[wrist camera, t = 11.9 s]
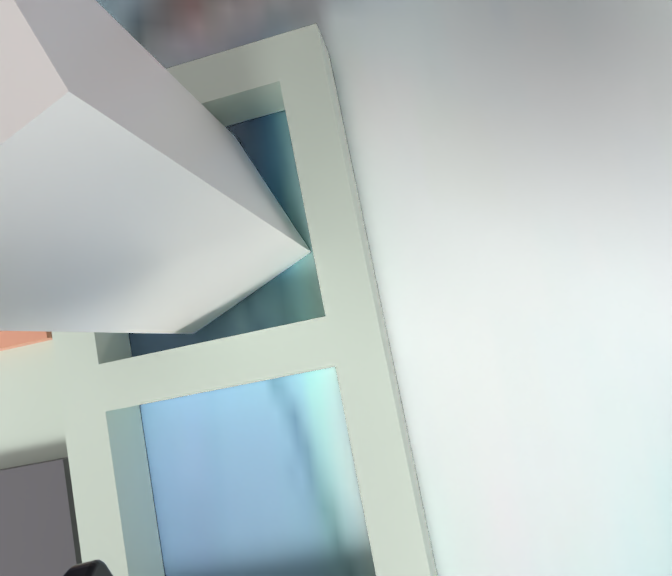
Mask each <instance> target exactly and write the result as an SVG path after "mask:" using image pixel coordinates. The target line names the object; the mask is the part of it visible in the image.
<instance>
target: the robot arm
mask: <svg viewBox="0 0 672 576" xmlns="http://www.w3.org/2000/svg"><path fill="white" fill-rule="evenodd" d="M63 576H113V575H112V573H111V572H110V570H109V569H108V567H107V565H106V564H105V563H104V562H103V561H101V560H92V561H88V562H84V563H80V564H76V565H74V566H72V567H71V568H69V569H68V570H67V571H66V573H65V574H64V575H63Z"/></svg>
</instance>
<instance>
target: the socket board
mask: <svg viewBox="0 0 672 576" xmlns="http://www.w3.org/2000/svg"><path fill="white" fill-rule="evenodd" d="M166 70H167V71H168V72H169V73H170V74H171V75H172V76H173V77H174V78H175V79H176V80H177V81H178V82H179V83H180V84H182V85H183V86H184V87H185V88H186V89H187V90H188V91H189V92H190V93H191V94H192V95H193V96H194V97H195V98H196V99H197V100H198V101H199V102H200V103H201V104H202V105H203V106H204V107H205V108H206V109H207V110H208V111H209V112H210V113H211V114H212V115H213V116H214V117H215V118H216V119H217V120H218V121H219V122H220V123H221V124H222V125H223V126H224V127H226V126H229V125H233V124H237V123H240V122H244V121H247V120H251V119H254V118H258V117H262V116H265V115H269V114H272V113H276V112H280V111H283V110H285V111H286V116H287V122H288V127H289V132H290V137H291V142H292V147H293V152H294V157H295V163H296V168H297V173H298V178H299V183H300V188H301V193H302V198H303V204H304V209H305V214H306V219H307V224H308V229H309V234H310V239H311V245H312V250H313V255H314V260H315V265H316V270H317V275H318V281H319V286H320V291H321V296H322V301H323V306H324V311H325V316H324V317H319V318H314V319H310V320H305V321H300V322H296V323H291V324H286V325H281V326H277V327H272V328H267V329H263V330H258V331H253V332H248V333H244V334H239V335H234V336H230V337H225V338H220V339H215V340H211V341H206V342H201V343H197V344H192V345H187V346H183V347H178V348H173V349H168V350H164V351H159V352H154V353H150V354H145V355H140V356H135V357H132V353H131V346H130V340H129V333H104V332H47V331H0V576H63V575H64V574H65V573H66V571H67V570H68V569H69V568H71V567H72V566H74V565H76V564H80V563H84V562H88V561H92V560H101V561H103V562H104V563H105V564H106V565H107V567H108V569H109V570H110V572H111V573H112V575H113V576H165V573H164V567H163V560H162V553H161V547H160V540H159V533H158V527H157V520H156V513H155V506H154V500H153V493H152V486H151V480H150V473H149V466H148V460H147V453H146V446H145V440H144V433H143V426H142V420H141V413H140V406H139V405H141V404H147V403H152V402H157V401H162V400H167V399H172V398H177V397H182V396H187V395H192V394H197V393H202V392H208V391H213V390H218V389H223V388H228V387H233V386H238V385H243V384H248V383H253V382H258V381H264V380H269V379H274V378H279V377H284V376H289V375H294V374H299V373H304V372H309V371H314V370H320V369H325V368H330V367H335V368H336V373H337V378H338V383H339V388H340V393H341V398H342V404H343V409H344V414H345V419H346V424H347V429H348V434H349V439H350V445H351V450H352V455H353V460H354V465H355V470H356V475H357V480H358V486H359V491H360V496H361V501H362V506H363V511H364V516H365V521H366V527H367V532H368V537H369V542H370V547H371V552H372V557H373V562H374V568H375V573H376V576H438V575H437V570H436V566H435V561H434V556H433V551H432V546H431V542H430V537H429V532H428V527H427V522H426V518H425V513H424V508H423V503H422V498H421V494H420V489H419V484H418V479H417V474H416V470H415V465H414V460H413V455H412V450H411V446H410V441H409V436H408V431H407V426H406V422H405V417H404V412H403V407H402V402H401V398H400V393H399V388H398V383H397V378H396V374H395V369H394V364H393V359H392V354H391V350H390V345H389V340H388V335H387V330H386V326H385V321H384V316H383V311H382V306H381V302H380V297H379V292H378V287H377V282H376V278H375V273H374V268H373V263H372V258H371V254H370V249H369V244H368V239H367V234H366V230H365V225H364V220H363V215H362V210H361V206H360V201H359V196H358V191H357V186H356V182H355V177H354V172H353V167H352V162H351V158H350V153H349V148H348V143H347V138H346V134H345V129H344V124H343V119H342V114H341V110H340V105H339V100H338V95H337V90H336V86H335V81H334V76H333V71H332V66H331V62H330V57H329V53H328V51H327V48H326V46H325V43H324V41H323V38H322V36H321V33H320V31H319V28H318V26H317V23H315V24H312V25H309V26H305V27H302V28H299V29H295V30H292V31H289V32H285V33H282V34H279V35H275V36H272V37H269V38H266V39H262V40H259V41H256V42H252V43H249V44H246V45H242V46H239V47H236V48H233V49H229V50H226V51H223V52H219V53H216V54H213V55H209V56H206V57H203V58H200V59H196V60H193V61H190V62H186V63H183V64H180V65H176V66H173V67H170V68H166Z"/></svg>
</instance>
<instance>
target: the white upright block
mask: <svg viewBox="0 0 672 576" xmlns="http://www.w3.org/2000/svg"><path fill="white" fill-rule="evenodd" d="M309 253H311V251H310V250H309V248H308V247H307V245H306V243H305V242H304V240H303V239H302V237H301V236H300V234H299V233H298V231H297V230H296V228H295V227H294V225H293V224H292V222H291V221H290V219H289V218H288V216H287V215H286V213H285V212H284V210H283V209H282V207H281V205H280V204H279V202H278V201H277V199H276V198H275V196H274V195H273V193H272V192H271V190H270V189H269V187H268V186H267V184H266V183H265V181H264V180H263V178H262V177H261V175H260V174H259V172H258V171H257V169H256V167H255V166H254V164H253V163H252V161H251V160H250V158H249V157H248V155H247V154H246V152H245V151H244V149H243V148H242V146H241V145H240V143H239V142H238V140H237V139H236V137H235V136H234V135H233V134H232V133H231V132H230V131H229V130H228V129H227V128H226V127H224V126H223V125H222V124H221V123H220V122H219V121H218V120H217V119H216V118H215V117H214V116H213V115H212V114H211V113H210V112H209V111H208V110H207V109H206V108H205V107H204V106H203V105H202V104H201V103H200V102H199V101H198V100H197V99H196V98H195V97H194V96H193V95H192V94H191V93H190V92H189V91H188V90H187V89H186V88H185V87H184V86H183V85H182V84H180V83H179V82H178V81H177V80H176V79H175V78H174V77H173V76H172V75H171V74H170V73H169V72H168V71H167V70H166V69H165V68H164V67H163V66H162V65H161V64H160V63H159V62H158V61H157V60H156V59H155V58H154V57H153V56H152V55H151V54H150V53H149V52H148V51H147V50H146V49H145V48H144V47H143V46H142V45H141V44H140V43H139V42H138V41H136V40H135V39H134V38H133V37H132V36H131V35H130V34H129V33H128V32H127V31H126V30H125V29H124V28H123V27H122V26H121V25H120V24H119V23H118V22H117V21H116V20H115V19H114V18H113V17H112V16H111V15H110V14H109V13H108V12H107V11H106V10H105V9H104V8H103V7H102V6H101V5H100V4H99V3H98V2H97V1H96V0H0V331H47V332H104V333H161V334H195V333H196V332H197V331H199V330H200V329H202V328H203V327H205V326H206V325H208V324H209V323H210V322H212V321H213V320H215V319H216V318H218V317H219V316H220V315H222V314H223V313H225V312H226V311H228V310H229V309H230V308H232V307H233V306H235V305H236V304H238V303H239V302H240V301H242V300H243V299H245V298H246V297H248V296H249V295H251V294H252V293H253V292H255V291H256V290H258V289H259V288H261V287H262V286H263V285H265V284H266V283H268V282H269V281H271V280H272V279H273V278H275V277H276V276H278V275H279V274H281V273H282V272H283V271H285V270H286V269H288V268H289V267H291V266H292V265H293V264H295V263H296V262H298V261H299V260H301V259H302V258H304V257H305V256H306V255H308V254H309Z"/></svg>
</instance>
